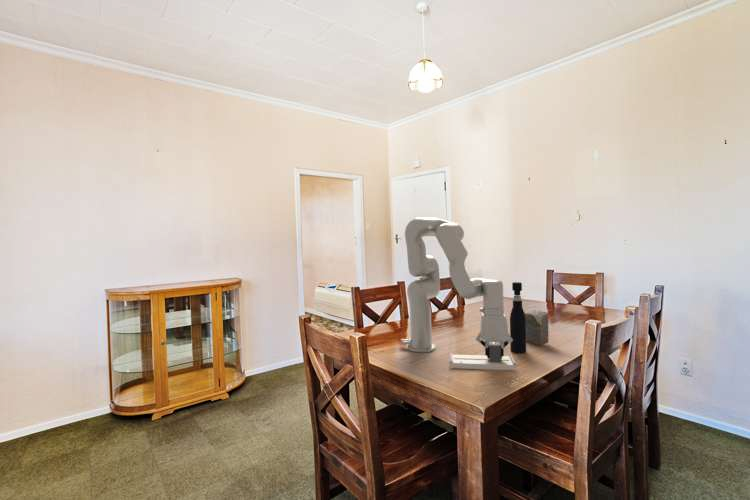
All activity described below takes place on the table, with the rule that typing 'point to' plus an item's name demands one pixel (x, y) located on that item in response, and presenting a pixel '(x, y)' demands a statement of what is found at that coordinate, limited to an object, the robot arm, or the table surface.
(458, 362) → the fader panel
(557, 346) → the table surface
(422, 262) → the robot arm
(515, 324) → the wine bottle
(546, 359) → the table surface
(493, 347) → the fader knob
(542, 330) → the geological specimen
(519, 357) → the table surface
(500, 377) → the table surface
